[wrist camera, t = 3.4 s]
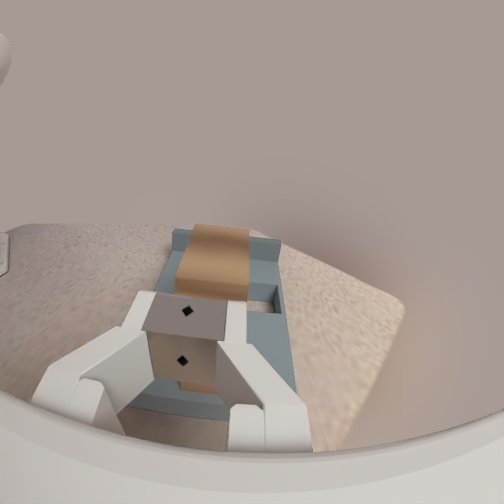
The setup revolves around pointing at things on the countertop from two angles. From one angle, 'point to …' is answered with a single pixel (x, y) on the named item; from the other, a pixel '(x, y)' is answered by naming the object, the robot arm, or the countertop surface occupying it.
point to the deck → (258, 331)
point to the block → (214, 271)
